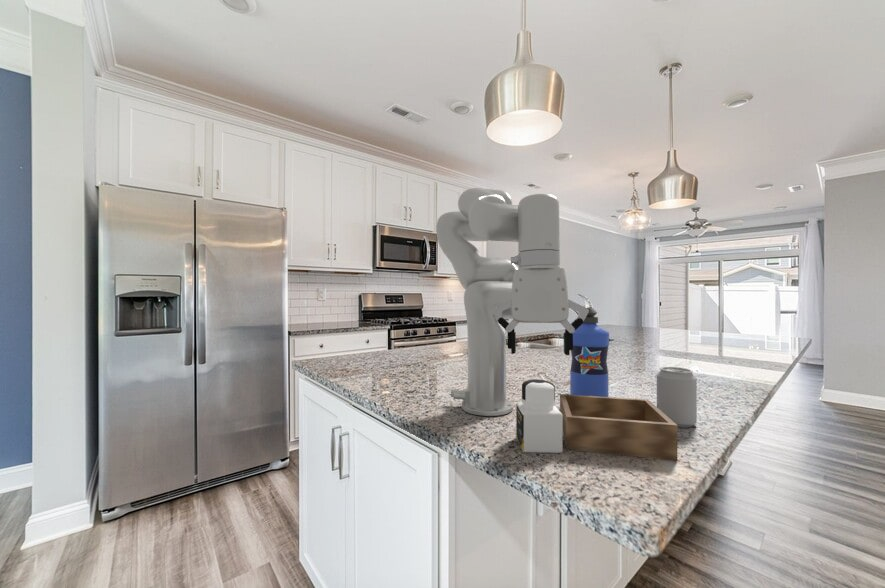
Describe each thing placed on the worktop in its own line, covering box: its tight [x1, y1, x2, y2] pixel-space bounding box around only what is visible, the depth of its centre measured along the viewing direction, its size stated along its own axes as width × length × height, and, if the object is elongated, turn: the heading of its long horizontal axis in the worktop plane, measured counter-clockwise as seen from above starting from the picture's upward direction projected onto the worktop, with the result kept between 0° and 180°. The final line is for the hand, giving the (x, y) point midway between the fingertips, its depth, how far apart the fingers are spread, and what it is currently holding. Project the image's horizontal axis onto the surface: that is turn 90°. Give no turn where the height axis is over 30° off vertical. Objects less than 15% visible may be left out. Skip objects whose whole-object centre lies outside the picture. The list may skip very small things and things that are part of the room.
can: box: [656, 366, 698, 428], centre depth 82 cm, size 8×8×12 cm
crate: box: [559, 393, 678, 461], centre depth 73 cm, size 18×16×6 cm
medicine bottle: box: [515, 378, 563, 454], centre depth 69 cm, size 7×7×12 cm
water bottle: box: [569, 307, 610, 397], centre depth 93 cm, size 9×9×25 cm
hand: (539, 353), depth 69 cm, fingers open, 9 cm apart
